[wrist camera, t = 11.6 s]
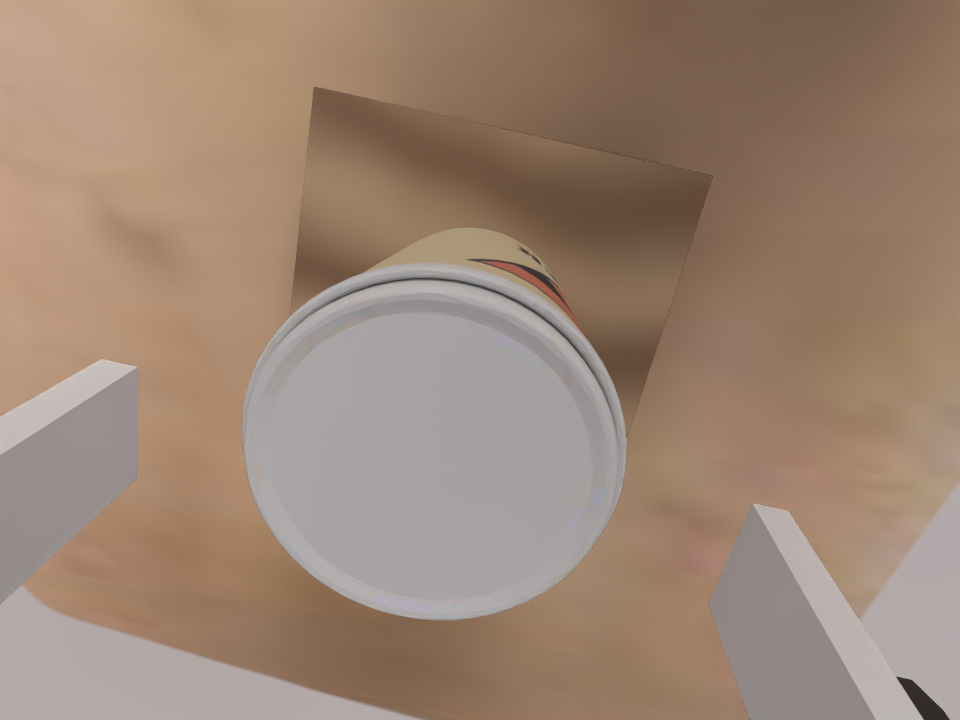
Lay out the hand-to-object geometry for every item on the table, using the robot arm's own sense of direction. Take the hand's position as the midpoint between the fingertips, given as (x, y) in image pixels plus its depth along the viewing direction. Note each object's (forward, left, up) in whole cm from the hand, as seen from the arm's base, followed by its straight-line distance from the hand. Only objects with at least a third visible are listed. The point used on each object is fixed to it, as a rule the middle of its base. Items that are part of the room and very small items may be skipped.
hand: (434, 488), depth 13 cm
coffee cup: (0, 0, -13) cm, 13 cm away
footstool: (0, 0, -19) cm, 19 cm away
